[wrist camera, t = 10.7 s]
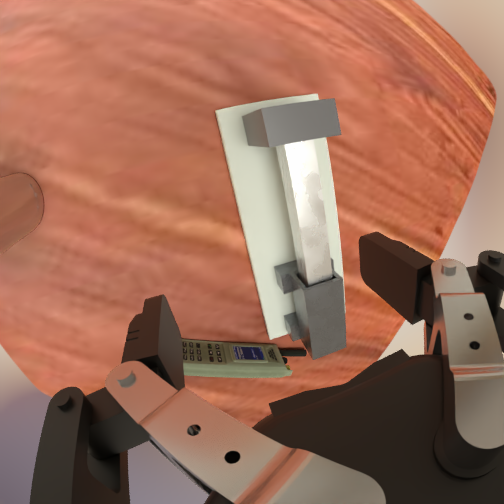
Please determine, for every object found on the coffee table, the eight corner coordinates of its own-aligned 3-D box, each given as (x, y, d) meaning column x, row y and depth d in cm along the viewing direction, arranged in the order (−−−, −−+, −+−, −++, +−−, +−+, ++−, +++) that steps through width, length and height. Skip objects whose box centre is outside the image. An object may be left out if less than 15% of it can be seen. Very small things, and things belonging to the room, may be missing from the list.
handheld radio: (165, 333, 46) (306, 341, 53) (164, 348, 47) (300, 354, 54) (164, 361, 40) (319, 365, 47) (163, 376, 41) (313, 378, 48)
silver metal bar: (302, 299, 42) (311, 311, 39) (270, 122, 32) (279, 120, 29) (324, 291, 42) (334, 303, 39) (297, 118, 33) (309, 116, 30)
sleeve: (286, 329, 49) (304, 363, 41) (273, 266, 44) (293, 294, 36) (330, 314, 50) (353, 344, 42) (323, 251, 45) (351, 275, 37)
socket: (248, 145, 37) (269, 147, 28) (241, 116, 35) (261, 108, 26) (305, 134, 38) (341, 134, 29) (299, 106, 36) (334, 98, 27)
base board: (267, 334, 50) (270, 339, 49) (214, 111, 36) (216, 110, 34) (341, 308, 52) (345, 313, 50) (313, 94, 37) (317, 93, 36)
